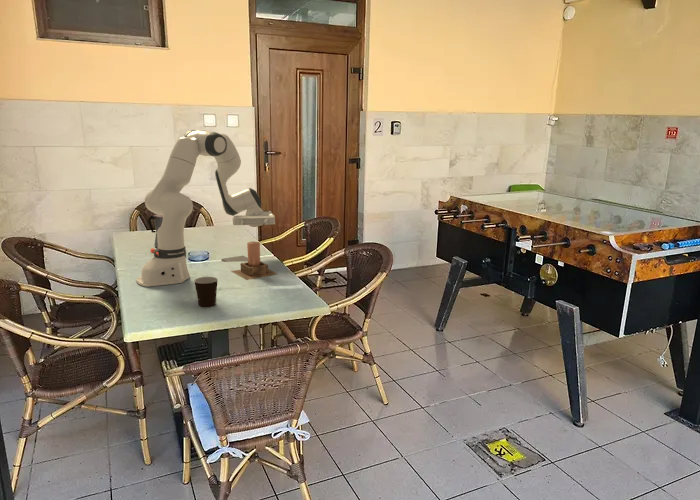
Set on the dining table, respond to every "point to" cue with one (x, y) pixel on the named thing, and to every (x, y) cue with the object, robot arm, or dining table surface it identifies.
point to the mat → (235, 259)
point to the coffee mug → (206, 291)
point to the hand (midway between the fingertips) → (253, 223)
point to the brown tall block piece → (253, 254)
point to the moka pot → (156, 225)
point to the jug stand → (254, 271)
